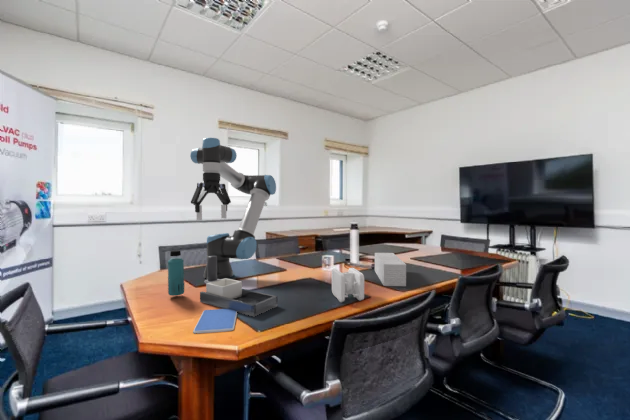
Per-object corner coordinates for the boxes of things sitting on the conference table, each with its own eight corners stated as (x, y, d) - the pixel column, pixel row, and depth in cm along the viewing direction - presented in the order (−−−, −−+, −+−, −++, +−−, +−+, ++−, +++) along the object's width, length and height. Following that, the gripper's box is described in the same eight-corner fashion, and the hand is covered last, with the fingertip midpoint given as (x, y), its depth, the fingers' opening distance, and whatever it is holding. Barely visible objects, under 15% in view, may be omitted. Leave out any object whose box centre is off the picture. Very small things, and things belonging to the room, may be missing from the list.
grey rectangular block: (374, 270, 179) (374, 252, 178) (392, 271, 178) (393, 252, 178) (383, 286, 147) (383, 264, 146) (406, 286, 146) (406, 264, 146)
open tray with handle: (218, 290, 135) (218, 254, 134) (241, 295, 127) (241, 257, 126) (199, 296, 126) (198, 257, 126) (222, 302, 118) (222, 261, 118)
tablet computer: (203, 312, 113) (203, 309, 113) (238, 310, 115) (238, 307, 115) (192, 335, 94) (192, 331, 94) (234, 332, 96) (234, 328, 96)
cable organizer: (330, 293, 135) (330, 267, 135) (353, 291, 138) (353, 266, 137) (340, 304, 121) (340, 275, 120) (365, 302, 123) (365, 274, 123)
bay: (225, 293, 135) (225, 284, 134) (277, 306, 118) (277, 296, 118) (200, 301, 124) (200, 292, 124) (253, 317, 107) (253, 306, 107)
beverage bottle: (178, 299, 126) (177, 252, 125) (164, 298, 127) (163, 251, 127) (187, 295, 132) (187, 249, 132) (174, 294, 134) (173, 249, 133)
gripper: (227, 174, 151) (227, 217, 151) (181, 170, 130) (182, 220, 130) (238, 174, 146) (238, 218, 147) (192, 169, 126) (193, 221, 126)
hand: (212, 219), depth 139 cm, fingers open, 13 cm apart
